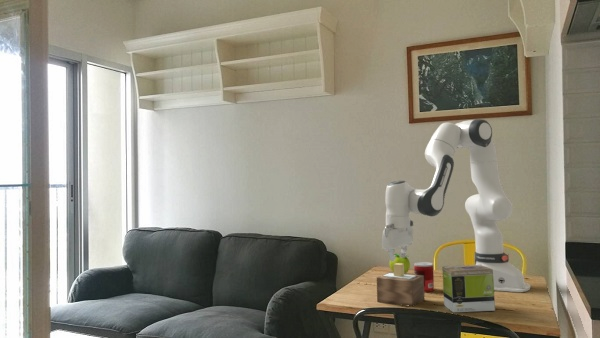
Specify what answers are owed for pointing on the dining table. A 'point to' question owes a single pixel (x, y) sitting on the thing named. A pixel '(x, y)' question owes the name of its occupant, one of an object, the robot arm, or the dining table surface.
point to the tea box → (468, 288)
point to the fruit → (400, 260)
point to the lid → (399, 272)
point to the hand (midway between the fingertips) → (397, 259)
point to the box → (400, 290)
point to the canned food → (425, 274)
